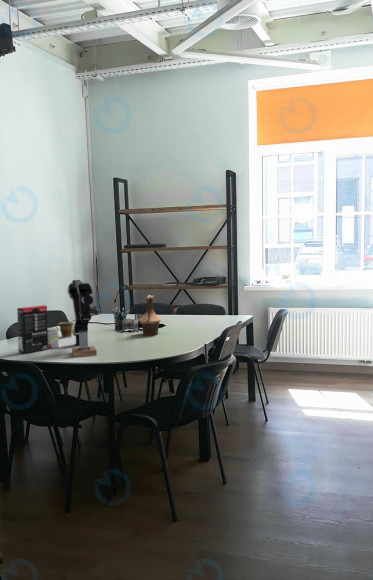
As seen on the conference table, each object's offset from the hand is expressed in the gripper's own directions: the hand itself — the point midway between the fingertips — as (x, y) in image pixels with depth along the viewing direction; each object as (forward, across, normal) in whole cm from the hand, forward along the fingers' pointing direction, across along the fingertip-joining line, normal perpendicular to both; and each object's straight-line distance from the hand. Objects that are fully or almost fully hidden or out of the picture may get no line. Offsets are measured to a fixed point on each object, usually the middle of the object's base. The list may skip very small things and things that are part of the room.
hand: (85, 328), depth 305 cm
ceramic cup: (+12, +51, +11) cm, 53 cm away
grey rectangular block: (+12, -17, +3) cm, 21 cm away
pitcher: (+12, +35, -47) cm, 60 cm away
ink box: (+12, +14, +20) cm, 27 cm away
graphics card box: (+12, +4, +31) cm, 33 cm away
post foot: (+12, -17, +3) cm, 21 cm away
